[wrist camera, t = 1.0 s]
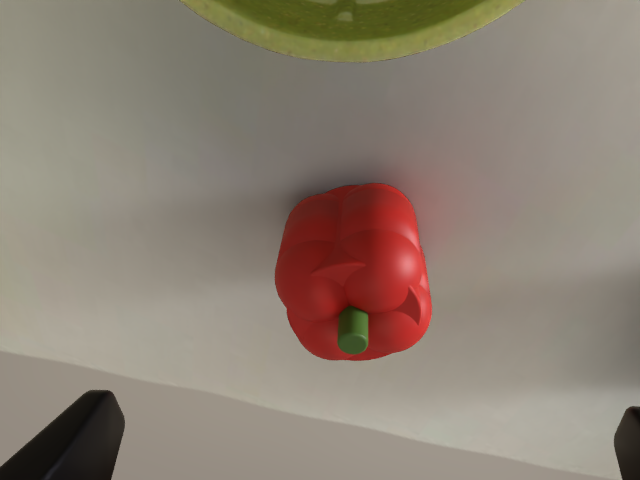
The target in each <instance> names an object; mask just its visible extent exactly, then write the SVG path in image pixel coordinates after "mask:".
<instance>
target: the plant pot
mask: <svg viewBox="0 0 640 480" xmlns="http://www.w3.org/2000/svg"><path fill="white" fill-rule="evenodd" d="M179 1H181V2H182V3H183V4H185V5H186V6H187V7H188V8H190V9H191V10H192V11H194V12H195V13H196V14H198V15H199V16H201V17H202V18H204V19H205V20H207V21H208V22H210V23H212V24H214V25H215V26H217V27H219V28H221V29H223V30H225V31H227V32H229V33H230V34H232V35H234V36H236V37H238V38H240V39H242V40H245V41H247V42H250V43H252V44H255V45H257V46H260V47H262V48H265V49H267V50H270V51H273V52H276V53H281V54H285V55H289V56H292V57H297V58H302V59H310V60H321V61H330V62H360V63H361V62H374V61H383V60H390V59H395V58H400V57H405V56H409V55H413V54H417V53H420V52H423V51H427V50H430V49H433V48H436V47H439V46H442V45H444V44H447V43H450V42H452V41H454V40H457V39H459V38H462V37H464V36H466V35H468V34H470V33H472V32H474V31H476V30H478V29H481V28H482V27H484V26H486V25H487V24H489V23H491V22H493V21H494V20H496V19H498V18H500V17H501V16H503V15H504V14H506V13H507V12H509V11H510V10H511V9H513V8H514V7H516V6H517V5H519V4H521V3H522V2H524V1H525V0H179Z"/></svg>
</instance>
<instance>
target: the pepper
mask: <svg viewBox="0 0 640 480" xmlns="http://www.w3.org/2000/svg"><path fill="white" fill-rule="evenodd" d="M275 285H276V289H277V292H278V295H279V297H280V299H281V301H282V302H283V304H284V305H285V307H286V308H287V316H288V320H289V323H290V326H291V327H292V329H293V331H294V333H295V334H296V336H297V337H298V339H299V341H300V342H301V344H302V345H303V346H304V347H305V348H306V349H307V350H308V351H309V352H311V353H312V354H314V355H316V356H317V357H320V358H323V359H327V360H351V361H362V360H371V359H376V358H380V357H383V356H386V355H389V354H391V353H395V352H400V351H403V350H406V349H408V348H410V347H411V346H413V345H414V344H415V343H417V342H418V341H419V340H420V339H421V338H422V336H423V335H424V334H425V332H426V330H427V328H428V326H429V323H430V320H431V315H432V304H431V297H430V290H429V283H428V277H427V270H426V263H425V257H424V253H423V250H422V248H421V246H420V243H419V236H418V228H417V221H416V215H415V212H414V210H413V207H412V205H411V203H410V202H409V200H408V199H407V198H406V197H405V196H404V195H403V194H402V193H401V192H400V191H399V190H397V189H396V188H394V187H391V186H389V185H385V184H381V183H370V184H364V185H349V186H343V187H339V188H335V189H333V190H330V191H328V192H326V193H325V194H317V195H314V196H310V197H308V198H306V199H304V200H302V201H301V202H300V203H299V204H297V205H296V207H295V208H294V209H293V210H292V211H291V213H290V215H289V217H288V219H287V222H286V225H285V229H284V233H283V238H282V242H281V246H280V251H279V255H278V260H277V264H276V269H275Z"/></svg>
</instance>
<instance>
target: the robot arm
mask: <svg viewBox="0 0 640 480" xmlns="http://www.w3.org/2000/svg"><path fill="white" fill-rule="evenodd" d="M124 427H125V420H124V415H123V413H122V411H121V409H120V407H119V405H118V402H117V400H116V398H115V396H114V394H113V393H112V392H111V391H108V390H90V391H88V392H86V393H85V394H83V395H82V396H81V397H80V398H79V399H77V400H76V401H75V402H74V403H73V404H72V405H71V406H69V407H68V408H67V409H66V410H65V411H64V412H63V413H62V414H60V415H59V416H58V417H57V418H56V419H55V420H53V421H52V422H51V423H50V424H49V425H48V426H47V427H45V428H44V429H43V430H42V431H41V432H40V433H39V434H37V435H36V436H35V437H34V438H33V439H32V440H31V441H30V442H28V443H27V444H26V445H25V446H24V447H23V448H21V449H20V450H19V451H18V452H17V453H16V454H15V455H13V456H12V457H11V458H10V459H9V460H8V461H7V462H5V463H4V464H3V465H2V466H1V467H0V480H111V477H112V474H113V470H114V466H115V462H116V458H117V455H118V451H119V447H120V443H121V439H122V436H123V432H124ZM614 447H615V452H616V456H617V460H618V464H619V468H620V472H621V476H622V480H640V407H637V406H632V407H629V408H628V409H626V411H625V413H624V415H623V417H622V420H621V422H620V424H619V426H618V428H617V431H616V433H615V436H614Z"/></svg>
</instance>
